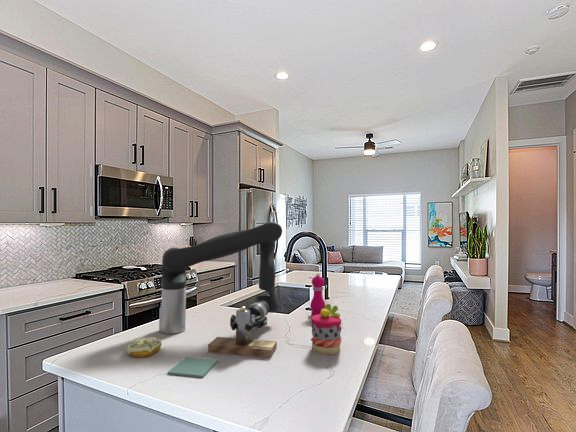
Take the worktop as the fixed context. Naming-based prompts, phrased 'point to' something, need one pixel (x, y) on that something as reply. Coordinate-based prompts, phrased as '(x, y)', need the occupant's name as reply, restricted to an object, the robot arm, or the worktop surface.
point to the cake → (326, 331)
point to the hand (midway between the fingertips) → (240, 327)
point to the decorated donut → (144, 347)
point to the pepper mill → (317, 295)
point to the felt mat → (193, 367)
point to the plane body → (243, 347)
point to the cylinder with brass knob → (242, 326)
